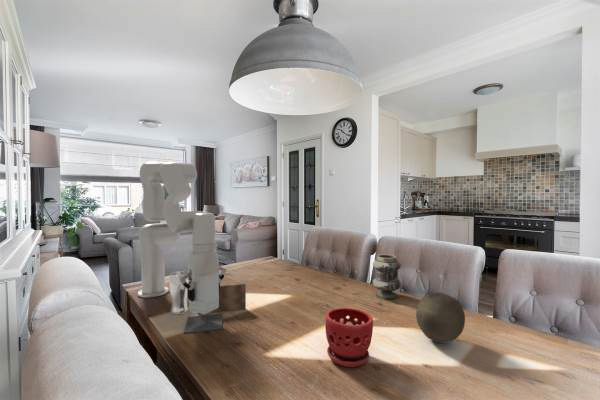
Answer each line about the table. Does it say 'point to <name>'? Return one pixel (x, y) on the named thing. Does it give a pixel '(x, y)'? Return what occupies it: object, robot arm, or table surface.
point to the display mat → (203, 323)
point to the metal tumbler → (178, 293)
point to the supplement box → (205, 294)
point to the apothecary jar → (386, 276)
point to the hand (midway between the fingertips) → (204, 296)
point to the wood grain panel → (231, 298)
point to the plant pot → (348, 336)
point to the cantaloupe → (440, 317)
